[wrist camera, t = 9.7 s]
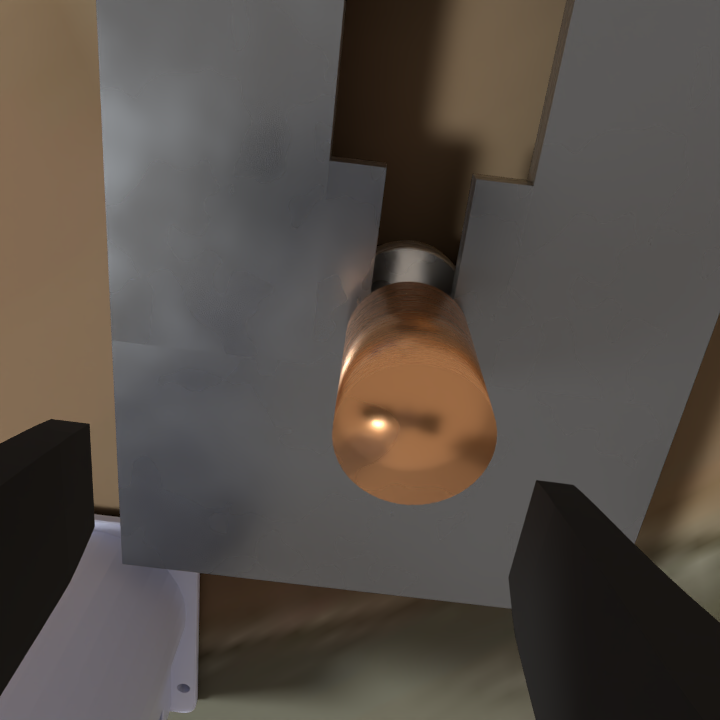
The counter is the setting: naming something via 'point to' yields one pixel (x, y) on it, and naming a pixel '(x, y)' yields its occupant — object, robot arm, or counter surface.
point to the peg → (412, 384)
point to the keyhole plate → (354, 280)
